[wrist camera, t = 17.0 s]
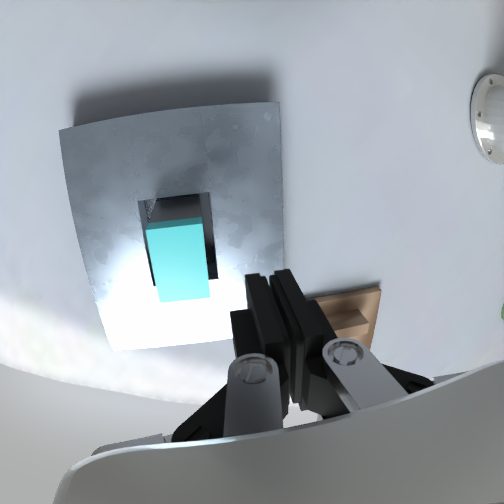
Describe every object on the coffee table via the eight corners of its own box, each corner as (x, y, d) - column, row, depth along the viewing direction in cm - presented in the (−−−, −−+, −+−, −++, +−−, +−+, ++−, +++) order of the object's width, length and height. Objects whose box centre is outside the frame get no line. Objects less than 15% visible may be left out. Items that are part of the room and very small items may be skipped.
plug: (199, 195, 29) (202, 223, 22) (205, 255, 32) (210, 297, 25) (156, 200, 29) (145, 230, 22) (165, 259, 31) (159, 303, 24)
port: (269, 103, 27) (279, 101, 24) (275, 311, 36) (283, 330, 33) (72, 127, 24) (58, 130, 21) (117, 330, 34) (112, 350, 30)
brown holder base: (377, 286, 38) (394, 303, 34) (361, 368, 43) (373, 386, 40) (284, 302, 36) (294, 323, 32) (282, 386, 42) (290, 407, 38)
